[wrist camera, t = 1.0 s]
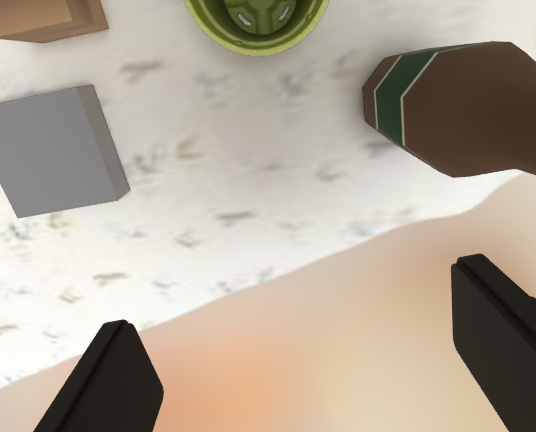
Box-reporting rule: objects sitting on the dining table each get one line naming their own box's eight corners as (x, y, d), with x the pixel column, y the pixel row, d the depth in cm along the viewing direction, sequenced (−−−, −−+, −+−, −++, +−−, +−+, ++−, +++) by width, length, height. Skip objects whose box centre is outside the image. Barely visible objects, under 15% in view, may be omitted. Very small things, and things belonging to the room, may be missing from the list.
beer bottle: (347, 130, 33) (504, 263, 11) (374, 39, 30) (666, -37, 8) (427, 147, 33) (730, 306, 11) (460, 59, 30) (962, 42, 8)
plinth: (-11, 106, 32) (-37, 110, 30) (92, 85, 31) (75, 87, 29) (37, 206, 36) (17, 218, 33) (130, 190, 35) (118, 200, 33)
